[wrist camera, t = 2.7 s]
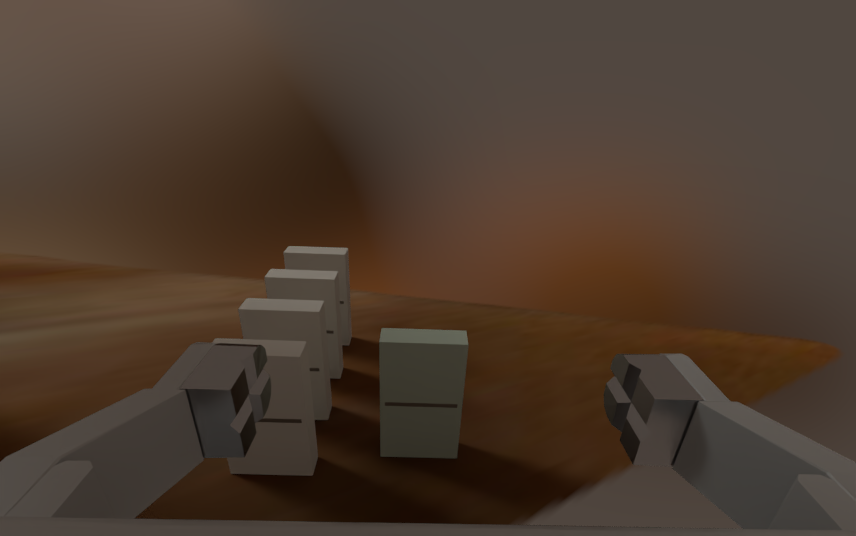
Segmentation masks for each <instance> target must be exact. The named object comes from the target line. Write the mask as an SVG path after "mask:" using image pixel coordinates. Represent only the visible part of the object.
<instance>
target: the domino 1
mask: <svg viewBox="0 0 856 536" xmlns="http://www.w3.org/2000/svg"><path fill="white" fill-rule="evenodd" d="M265 284H266V292H267V299H288V300H319V301H324V305H325V319H326V332H327V346H328V359H329V372H330V378H334V379H340V378H341V374H342V370H343V353H342V334H341V316H340V297H339V278H338V271H317V270H290V269H271V270H270V271H269V272H268V273H267V275H266V276H265Z"/></svg>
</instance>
